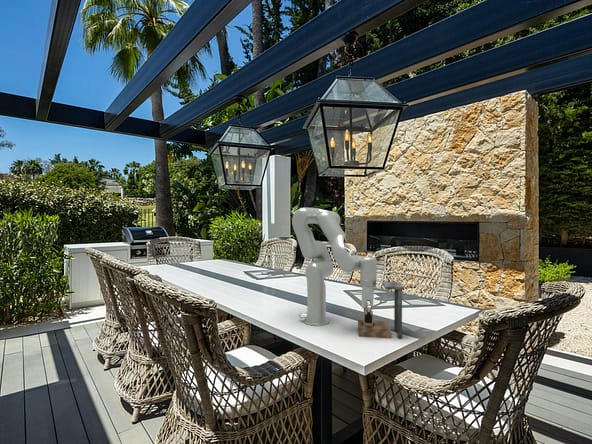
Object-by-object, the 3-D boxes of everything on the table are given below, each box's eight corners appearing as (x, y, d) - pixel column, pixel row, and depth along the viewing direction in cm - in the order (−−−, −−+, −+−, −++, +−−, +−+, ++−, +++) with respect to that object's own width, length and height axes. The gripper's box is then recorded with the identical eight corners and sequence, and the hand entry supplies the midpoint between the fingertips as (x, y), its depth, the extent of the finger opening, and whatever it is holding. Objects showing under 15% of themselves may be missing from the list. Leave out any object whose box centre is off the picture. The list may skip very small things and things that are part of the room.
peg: (363, 333, 154) (364, 312, 154) (363, 330, 158) (363, 310, 158) (372, 334, 153) (372, 312, 153) (372, 331, 157) (372, 310, 157)
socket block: (358, 336, 150) (358, 285, 150) (358, 327, 162) (358, 281, 162) (403, 339, 147) (403, 287, 147) (399, 330, 159) (399, 282, 159)
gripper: (359, 279, 164) (359, 314, 164) (360, 286, 147) (360, 325, 147) (374, 280, 163) (374, 314, 163) (377, 287, 146) (377, 326, 146)
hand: (367, 319), depth 155 cm, fingers open, 9 cm apart
